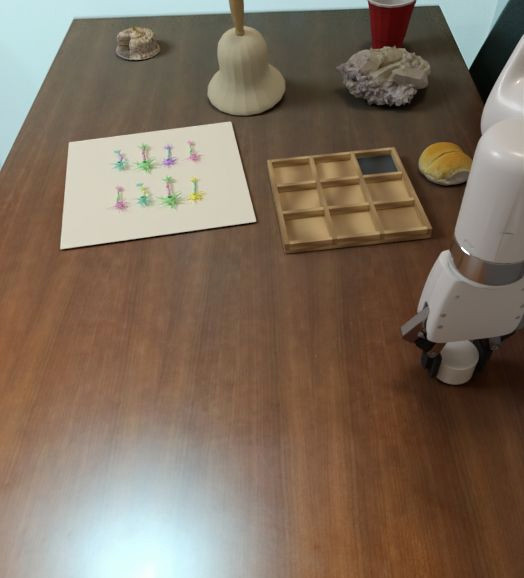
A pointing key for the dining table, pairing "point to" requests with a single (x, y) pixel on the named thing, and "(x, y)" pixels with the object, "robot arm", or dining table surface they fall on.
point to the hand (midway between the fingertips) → (452, 364)
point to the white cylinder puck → (458, 362)
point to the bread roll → (445, 164)
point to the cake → (137, 44)
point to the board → (345, 200)
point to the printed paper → (153, 185)
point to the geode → (385, 75)
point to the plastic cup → (389, 21)
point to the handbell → (244, 70)
